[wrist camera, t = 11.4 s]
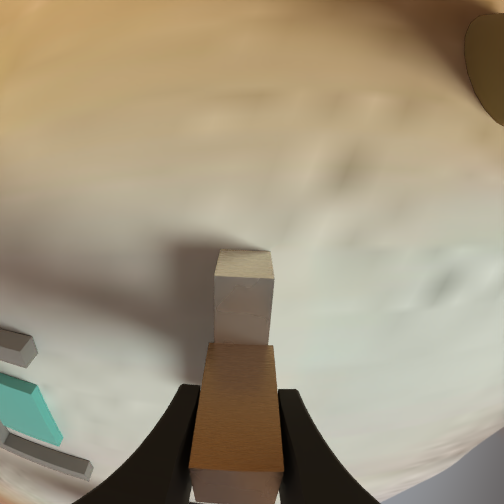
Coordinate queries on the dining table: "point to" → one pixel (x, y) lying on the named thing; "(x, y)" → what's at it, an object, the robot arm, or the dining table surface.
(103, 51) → the dining table surface
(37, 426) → the tile
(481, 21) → the cork
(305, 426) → the robot arm
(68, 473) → the frame
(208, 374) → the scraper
